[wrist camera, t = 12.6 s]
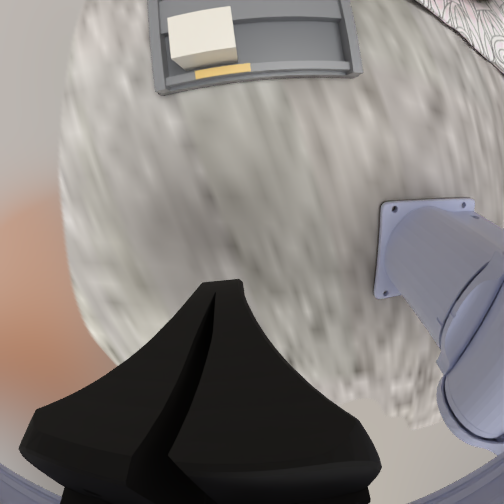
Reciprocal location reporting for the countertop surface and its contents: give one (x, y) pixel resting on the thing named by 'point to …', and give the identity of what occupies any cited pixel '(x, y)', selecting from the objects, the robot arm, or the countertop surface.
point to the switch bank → (262, 42)
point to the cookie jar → (475, 24)
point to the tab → (202, 38)
